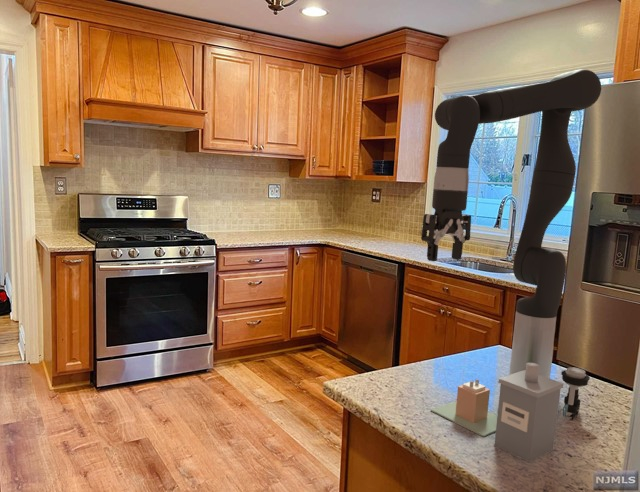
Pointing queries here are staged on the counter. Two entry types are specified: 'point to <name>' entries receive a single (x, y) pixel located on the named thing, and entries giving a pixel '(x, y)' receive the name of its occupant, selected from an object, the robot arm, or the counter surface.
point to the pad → (479, 427)
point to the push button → (573, 390)
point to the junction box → (527, 413)
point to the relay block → (472, 401)
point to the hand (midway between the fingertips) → (444, 259)
